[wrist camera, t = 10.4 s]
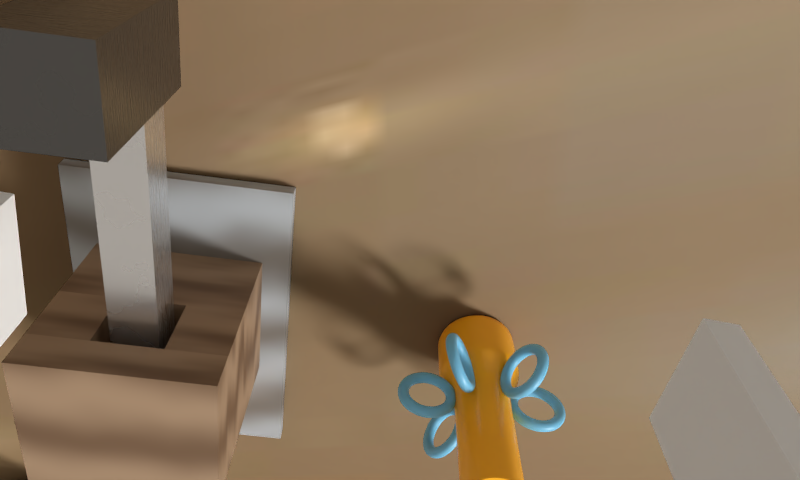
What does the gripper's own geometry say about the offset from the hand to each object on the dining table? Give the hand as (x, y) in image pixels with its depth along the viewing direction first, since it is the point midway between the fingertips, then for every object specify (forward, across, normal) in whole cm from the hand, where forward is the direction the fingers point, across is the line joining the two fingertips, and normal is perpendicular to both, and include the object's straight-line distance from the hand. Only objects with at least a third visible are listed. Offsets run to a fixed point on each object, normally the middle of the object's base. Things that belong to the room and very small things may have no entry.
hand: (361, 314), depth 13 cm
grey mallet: (+24, -13, -14) cm, 31 cm away
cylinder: (+32, +11, -25) cm, 42 cm away
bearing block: (+32, -12, -26) cm, 43 cm away
